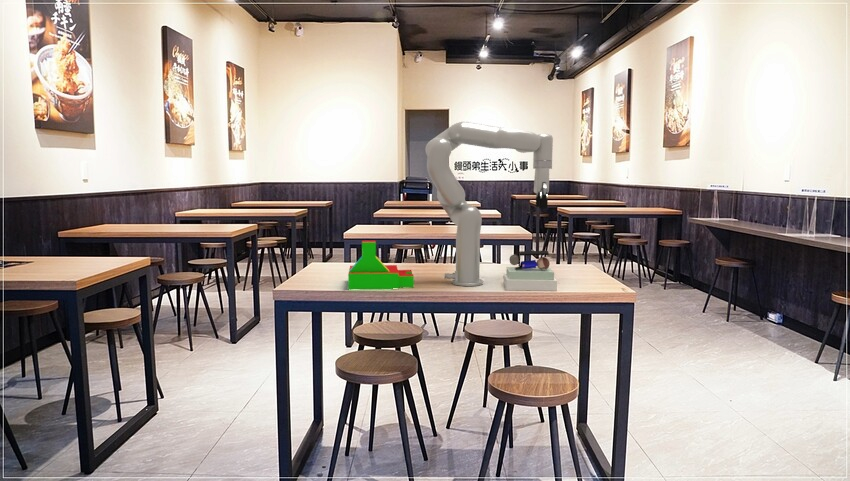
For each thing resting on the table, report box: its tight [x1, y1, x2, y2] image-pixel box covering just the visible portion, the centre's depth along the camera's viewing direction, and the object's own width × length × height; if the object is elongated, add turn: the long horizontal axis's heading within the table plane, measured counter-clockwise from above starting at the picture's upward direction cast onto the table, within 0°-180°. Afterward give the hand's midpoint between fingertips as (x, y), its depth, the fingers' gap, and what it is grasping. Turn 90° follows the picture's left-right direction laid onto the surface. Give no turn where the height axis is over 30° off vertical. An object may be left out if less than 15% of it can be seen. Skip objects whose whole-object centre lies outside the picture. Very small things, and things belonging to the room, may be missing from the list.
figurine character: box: [509, 250, 550, 270], centre depth 226 cm, size 7×8×15 cm
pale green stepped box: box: [503, 266, 558, 292], centre depth 227 cm, size 19×13×7 cm
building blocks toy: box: [347, 240, 415, 290], centre depth 231 cm, size 19×25×18 cm
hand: (541, 207), depth 237 cm, fingers open, 9 cm apart
